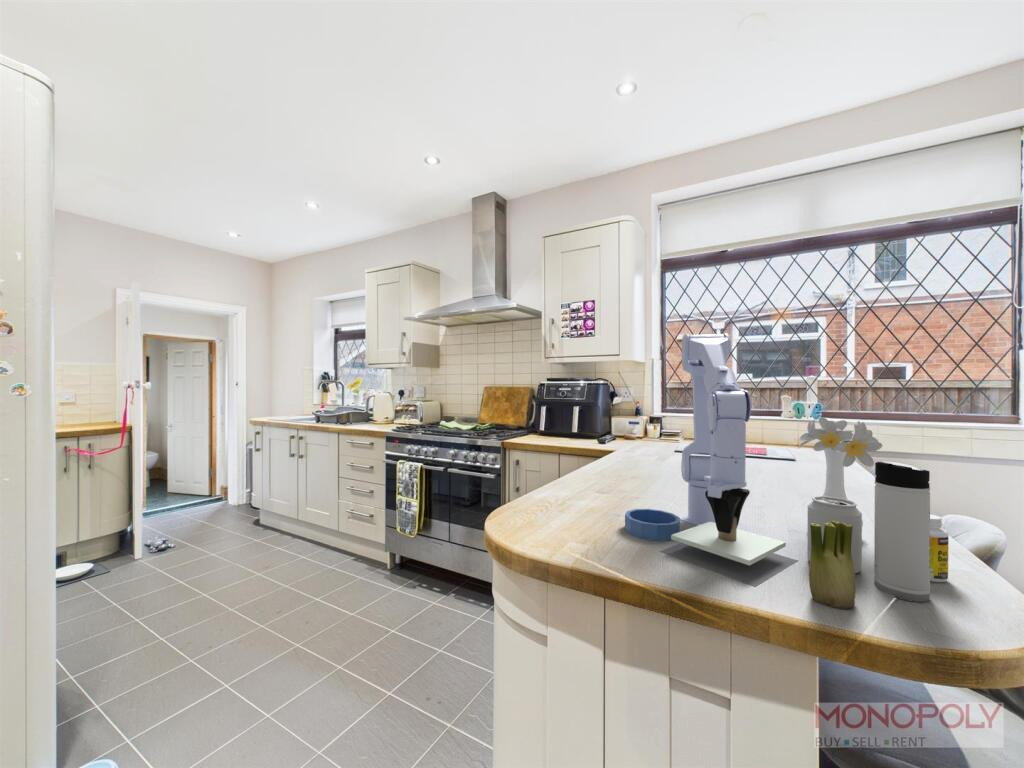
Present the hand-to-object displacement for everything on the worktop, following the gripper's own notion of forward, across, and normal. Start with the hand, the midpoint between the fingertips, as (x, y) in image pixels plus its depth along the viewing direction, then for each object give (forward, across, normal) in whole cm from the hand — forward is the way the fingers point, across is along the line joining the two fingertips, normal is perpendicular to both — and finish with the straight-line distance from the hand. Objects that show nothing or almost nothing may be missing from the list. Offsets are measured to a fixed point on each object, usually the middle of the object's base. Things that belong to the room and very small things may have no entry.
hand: (727, 529), depth 76 cm
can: (+5, -9, +15) cm, 18 cm away
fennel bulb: (+5, +7, +16) cm, 18 cm away
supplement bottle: (+5, -16, +26) cm, 31 cm away
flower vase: (+6, -30, +13) cm, 33 cm away
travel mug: (+5, -5, +23) cm, 24 cm away
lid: (+2, 0, 0) cm, 2 cm away
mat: (+5, 0, 0) cm, 5 cm away
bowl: (+6, -2, -16) cm, 17 cm away
